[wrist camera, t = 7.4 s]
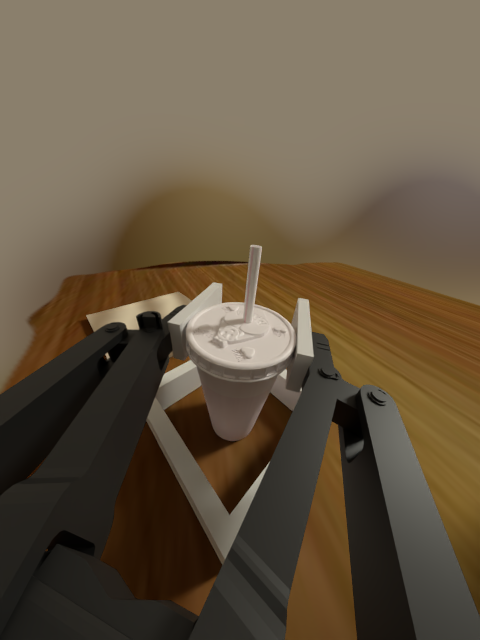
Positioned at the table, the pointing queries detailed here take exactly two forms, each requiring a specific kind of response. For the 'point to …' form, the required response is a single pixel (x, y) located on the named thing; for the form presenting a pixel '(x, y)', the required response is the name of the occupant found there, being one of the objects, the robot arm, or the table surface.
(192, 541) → the table surface
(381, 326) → the table surface
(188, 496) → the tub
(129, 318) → the board
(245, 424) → the smoothie
